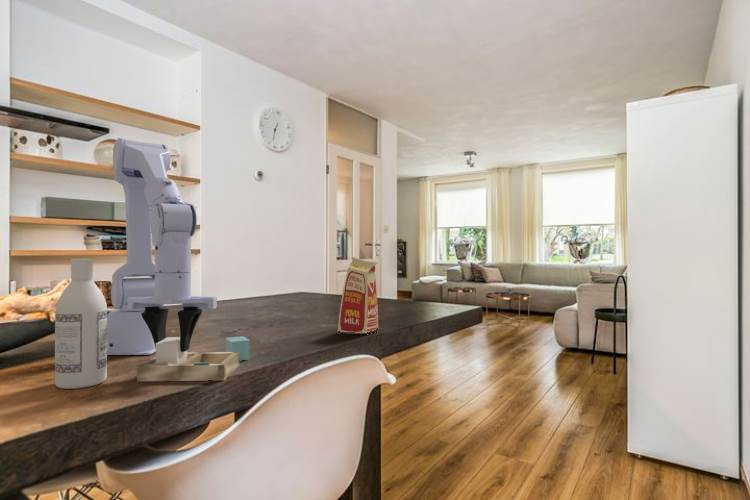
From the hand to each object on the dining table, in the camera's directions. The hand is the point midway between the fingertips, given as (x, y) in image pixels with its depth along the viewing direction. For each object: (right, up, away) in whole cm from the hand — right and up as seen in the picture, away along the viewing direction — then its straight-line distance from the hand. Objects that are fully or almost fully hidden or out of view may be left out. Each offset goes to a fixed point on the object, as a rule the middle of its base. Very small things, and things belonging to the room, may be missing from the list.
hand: (172, 350), depth 76 cm
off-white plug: (0, -2, 0) cm, 2 cm away
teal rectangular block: (+8, -4, +11) cm, 14 cm away
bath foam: (-12, -4, -6) cm, 14 cm away
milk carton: (+31, -4, +41) cm, 51 cm away
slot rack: (+3, -4, 0) cm, 5 cm away
